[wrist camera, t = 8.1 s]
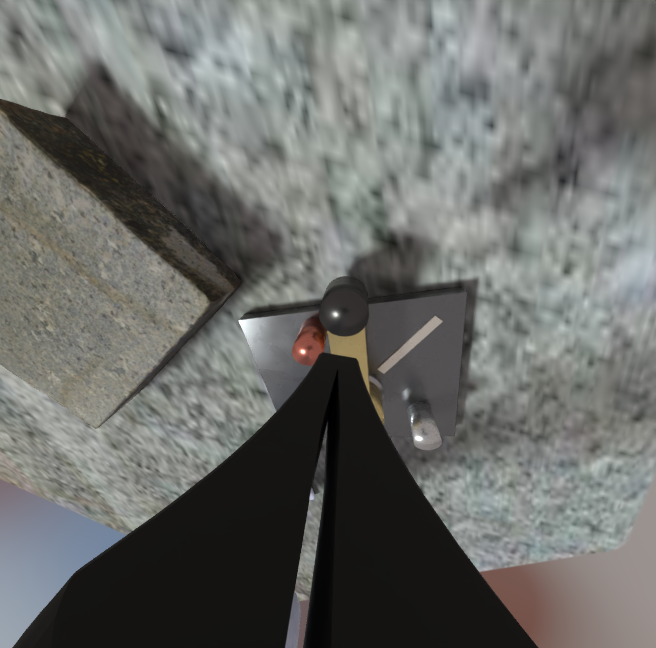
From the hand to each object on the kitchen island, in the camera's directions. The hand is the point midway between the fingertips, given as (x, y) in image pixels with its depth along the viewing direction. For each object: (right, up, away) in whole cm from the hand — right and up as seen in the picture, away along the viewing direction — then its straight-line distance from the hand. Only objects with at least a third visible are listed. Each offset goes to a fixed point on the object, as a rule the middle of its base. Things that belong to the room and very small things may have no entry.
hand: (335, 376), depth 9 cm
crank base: (+2, -3, +12) cm, 13 cm away
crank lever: (+2, 0, +9) cm, 9 cm away
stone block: (-18, +5, +11) cm, 22 cm away
